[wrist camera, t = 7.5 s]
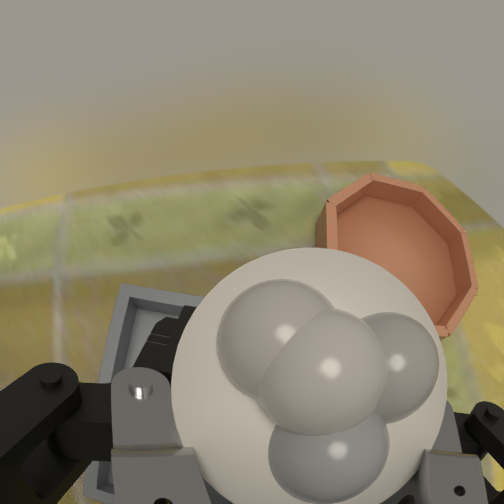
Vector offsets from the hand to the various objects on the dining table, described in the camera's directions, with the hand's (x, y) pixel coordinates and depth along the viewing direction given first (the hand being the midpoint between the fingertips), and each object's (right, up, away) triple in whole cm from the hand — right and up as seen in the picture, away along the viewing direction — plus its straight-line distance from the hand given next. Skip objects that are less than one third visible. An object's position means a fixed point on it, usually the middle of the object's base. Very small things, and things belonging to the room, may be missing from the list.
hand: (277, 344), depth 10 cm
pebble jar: (-1, -4, +3) cm, 5 cm away
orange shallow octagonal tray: (+11, +2, +15) cm, 19 cm away
